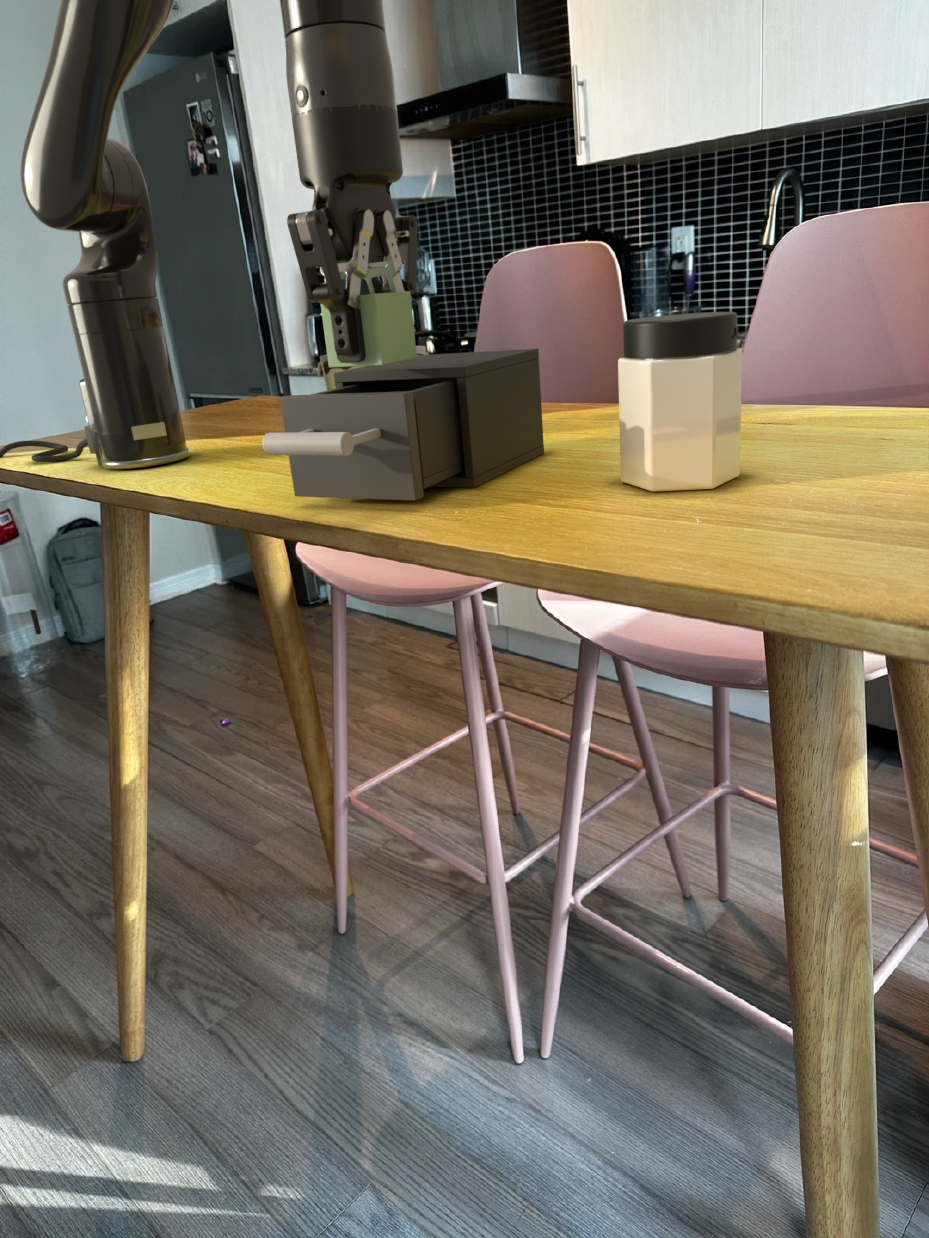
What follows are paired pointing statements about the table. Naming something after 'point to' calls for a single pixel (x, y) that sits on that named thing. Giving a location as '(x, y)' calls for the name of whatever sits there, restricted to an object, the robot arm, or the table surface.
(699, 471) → the jar
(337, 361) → the block
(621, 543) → the table surface
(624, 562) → the table surface
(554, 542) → the table surface
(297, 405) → the pulled-out drawer
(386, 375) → the grey drawer unit
